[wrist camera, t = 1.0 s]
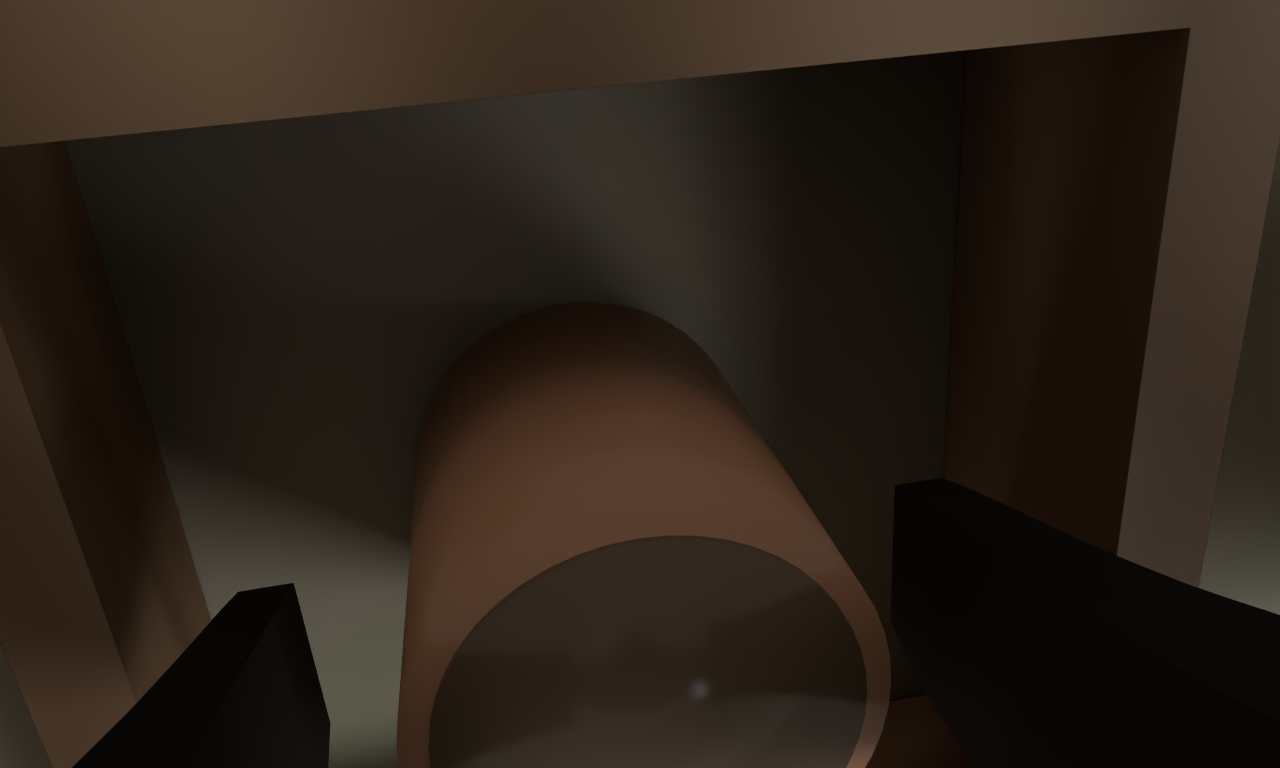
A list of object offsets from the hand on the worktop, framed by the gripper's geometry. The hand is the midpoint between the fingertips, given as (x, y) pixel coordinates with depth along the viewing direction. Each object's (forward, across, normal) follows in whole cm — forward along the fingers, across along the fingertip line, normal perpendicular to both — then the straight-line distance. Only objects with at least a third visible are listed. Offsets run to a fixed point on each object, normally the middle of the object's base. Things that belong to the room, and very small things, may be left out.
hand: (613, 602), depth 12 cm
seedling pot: (+4, 0, 0) cm, 4 cm away
